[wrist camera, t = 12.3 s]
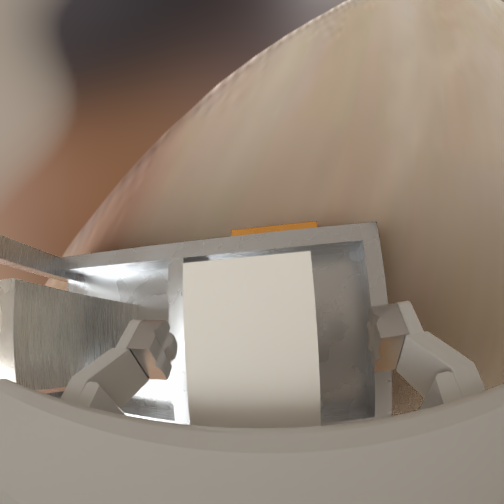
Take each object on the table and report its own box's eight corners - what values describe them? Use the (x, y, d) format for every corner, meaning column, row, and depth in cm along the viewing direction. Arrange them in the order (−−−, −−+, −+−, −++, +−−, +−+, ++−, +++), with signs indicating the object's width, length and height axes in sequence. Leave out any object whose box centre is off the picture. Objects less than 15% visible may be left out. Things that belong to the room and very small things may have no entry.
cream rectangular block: (257, 377, 17) (191, 437, 7) (253, 299, 19) (182, 263, 8) (314, 374, 17) (321, 439, 6) (309, 294, 18) (310, 250, 8)
